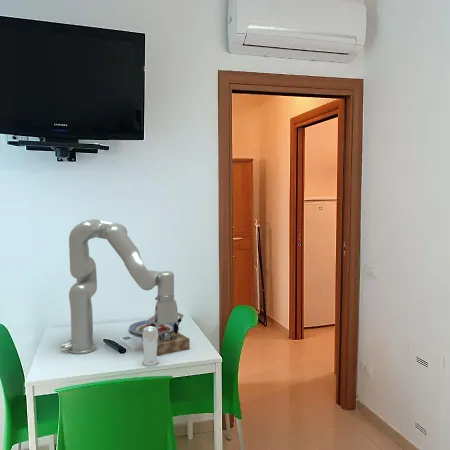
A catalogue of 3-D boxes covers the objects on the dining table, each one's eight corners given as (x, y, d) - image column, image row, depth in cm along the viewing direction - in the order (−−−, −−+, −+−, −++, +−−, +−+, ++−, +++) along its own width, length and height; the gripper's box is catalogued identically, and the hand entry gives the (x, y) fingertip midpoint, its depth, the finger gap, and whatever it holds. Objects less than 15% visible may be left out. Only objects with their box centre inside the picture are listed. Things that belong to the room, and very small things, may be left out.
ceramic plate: (172, 321, 255) (172, 316, 254) (183, 335, 230) (183, 329, 230) (126, 325, 246) (126, 320, 246) (132, 340, 222) (132, 334, 222)
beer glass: (159, 360, 196) (159, 326, 194) (157, 366, 189) (157, 331, 188) (143, 360, 195) (143, 326, 194) (141, 366, 188) (140, 331, 187)
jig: (153, 356, 199) (153, 344, 199) (143, 348, 210) (142, 336, 209) (189, 349, 209) (189, 337, 209) (177, 341, 219) (177, 330, 219)
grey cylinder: (163, 351, 206) (163, 334, 206) (159, 348, 210) (159, 331, 209) (172, 349, 209) (172, 332, 208) (168, 346, 212) (168, 330, 212)
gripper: (151, 302, 200) (152, 340, 201) (186, 297, 209) (186, 333, 210) (145, 299, 206) (145, 335, 207) (179, 294, 215) (179, 329, 217)
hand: (166, 334), depth 209 cm, fingers open, 9 cm apart
